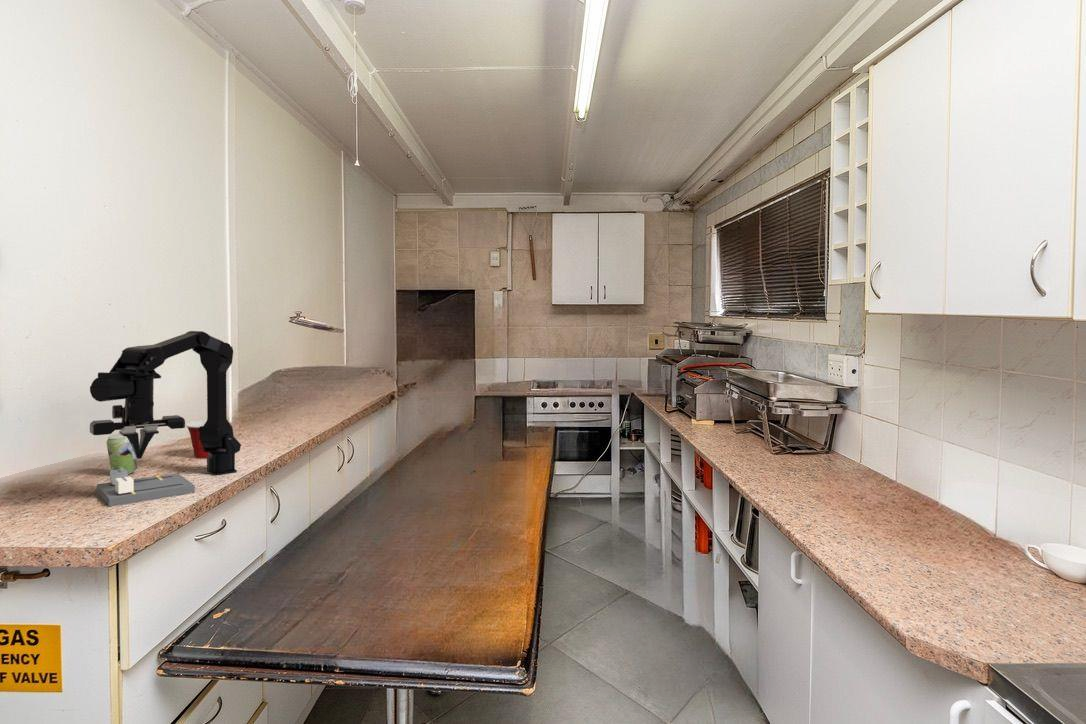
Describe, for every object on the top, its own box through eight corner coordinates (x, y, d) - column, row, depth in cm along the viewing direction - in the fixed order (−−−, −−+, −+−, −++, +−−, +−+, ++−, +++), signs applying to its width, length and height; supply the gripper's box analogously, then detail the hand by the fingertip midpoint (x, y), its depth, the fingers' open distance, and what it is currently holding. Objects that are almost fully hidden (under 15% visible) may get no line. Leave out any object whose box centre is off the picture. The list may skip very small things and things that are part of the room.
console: (177, 479, 154) (177, 472, 154) (194, 492, 144) (194, 484, 144) (97, 491, 141) (97, 483, 141) (109, 506, 130) (109, 498, 130)
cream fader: (129, 488, 137) (130, 476, 137) (133, 491, 134) (133, 479, 134) (115, 490, 135) (115, 478, 135) (118, 493, 132) (118, 481, 132)
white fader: (124, 479, 144) (124, 468, 144) (127, 482, 142) (127, 471, 141) (109, 481, 142) (109, 469, 142) (113, 484, 139) (113, 472, 139)
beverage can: (142, 471, 161) (142, 432, 160) (120, 478, 154) (121, 436, 153) (123, 470, 162) (123, 430, 161) (100, 476, 154) (100, 435, 154)
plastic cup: (177, 457, 179) (177, 422, 179) (208, 451, 189) (208, 418, 189) (199, 462, 175) (200, 425, 174) (230, 455, 185) (230, 421, 184)
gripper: (174, 392, 148) (173, 448, 149) (85, 395, 134) (85, 457, 135) (186, 396, 141) (185, 455, 141) (93, 400, 127) (93, 466, 127)
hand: (138, 458), depth 136 cm, fingers closed
